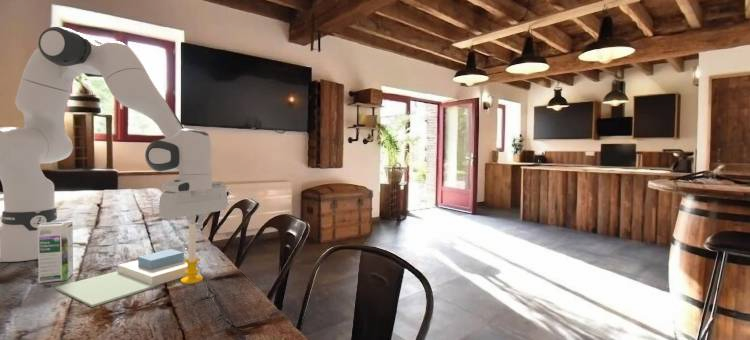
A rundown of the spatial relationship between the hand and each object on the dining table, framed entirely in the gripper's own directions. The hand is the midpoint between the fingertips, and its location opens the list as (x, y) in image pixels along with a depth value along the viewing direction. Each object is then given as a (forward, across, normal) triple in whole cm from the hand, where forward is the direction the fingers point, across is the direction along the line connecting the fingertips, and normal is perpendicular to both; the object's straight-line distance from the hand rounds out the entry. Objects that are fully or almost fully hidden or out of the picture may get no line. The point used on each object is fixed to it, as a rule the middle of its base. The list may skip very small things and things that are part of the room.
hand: (196, 229), depth 106 cm
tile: (+8, +10, 0) cm, 13 cm away
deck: (+10, +11, 0) cm, 15 cm away
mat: (+10, +24, 0) cm, 26 cm away
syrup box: (+10, +27, -18) cm, 34 cm away
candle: (+11, +9, +12) cm, 18 cm away
